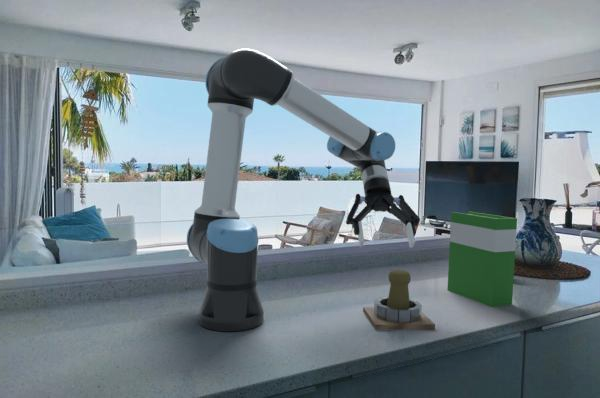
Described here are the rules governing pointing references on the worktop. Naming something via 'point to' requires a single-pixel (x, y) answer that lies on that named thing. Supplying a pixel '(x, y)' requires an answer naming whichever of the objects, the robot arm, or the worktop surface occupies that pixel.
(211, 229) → the robot arm
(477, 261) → the cereal box
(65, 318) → the worktop surface
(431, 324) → the walnut board
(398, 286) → the cork
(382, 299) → the steel collar
